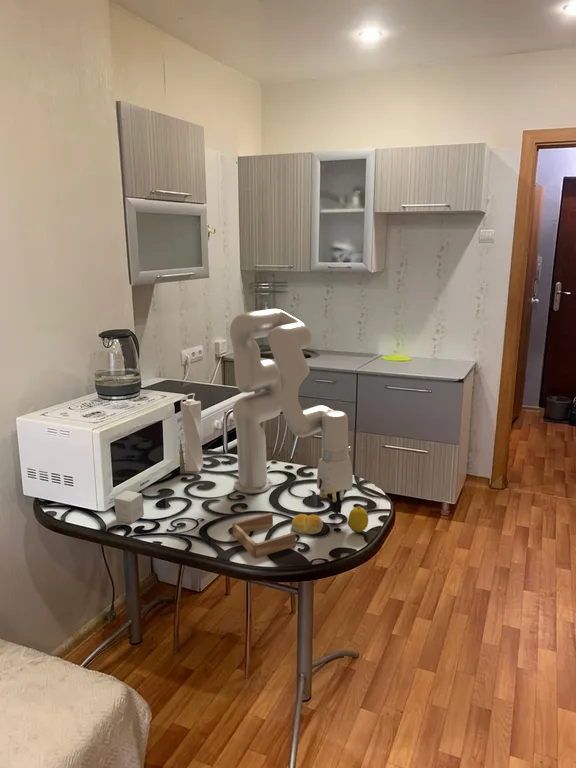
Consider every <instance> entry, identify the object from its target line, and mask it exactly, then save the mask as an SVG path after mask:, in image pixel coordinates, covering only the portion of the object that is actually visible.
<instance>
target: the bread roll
mask: <svg viewBox="0 0 576 768" xmlns="http://www.w3.org/2000/svg"><path fill="white" fill-rule="evenodd" d="M291 527H292V529H293V531H295V533H297V534H302V535H305V534H307V535H315V534H319V533H320V532H322V529H323V527H324V520H323V519H322V518H321V517H320V516H319V515H317V514H310V515H307V514H305V513H300V514H298V515H295V517H293V518H292V521H291Z"/></svg>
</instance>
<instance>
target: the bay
mask: <svg viewBox="0 0 576 768" xmlns="http://www.w3.org/2000/svg"><path fill="white" fill-rule="evenodd" d="M273 518H274V516H273V513H272V512H269V513H266V514H265V513H264V514H261V515H258V516H255V517H249V518H247V519H243V520H239V521H236V522H233V523H232V524H231V525H232V526H231V528H232V536H233V537H234V538H235V539H236V540H237V541H238V542H239V544H240V545H241V546H242V547H244V549H245V550H246V551H247V552H248V553H249V554H250V555H251V556H252V557H253V559H255V558H260V557H264V556H266V555H270V554H274V553H277V552H280V551H284V550H287V549H290V548H294V547H296V545H297V542H296V541H297V540H296V539H297V538H296V537H297V534H296V532H291V533H287V534H283V535H280V536H277V537H272V538H270V539H267V540H263V541H260V542H255V541H254V539H252V538H251V537H250V536H249V535H248V534H247V533H251V532H254V531H258V530H261V529H265V528H269V527H272V526H273V525H274V524H273V523H274V520H273Z"/></svg>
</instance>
